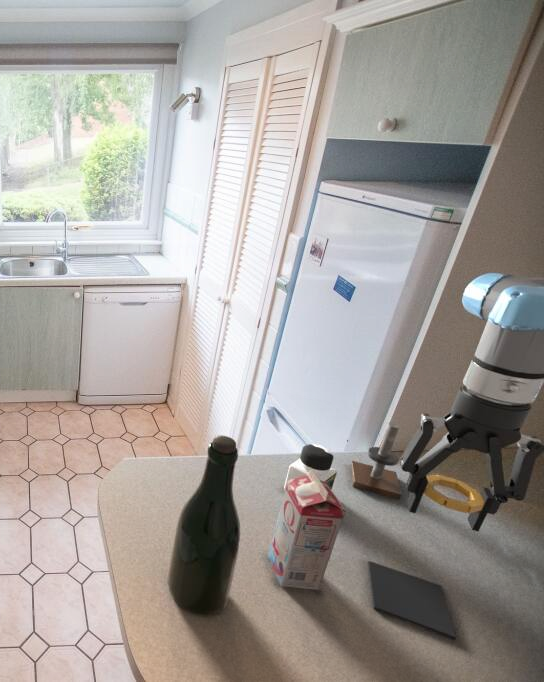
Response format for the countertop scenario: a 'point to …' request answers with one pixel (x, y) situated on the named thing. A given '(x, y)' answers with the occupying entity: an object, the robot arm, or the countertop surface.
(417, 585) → the rubber mat
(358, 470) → the peg stand
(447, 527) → the countertop surface
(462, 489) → the brass ring
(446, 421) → the robot arm
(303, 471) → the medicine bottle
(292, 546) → the juice carton
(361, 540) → the countertop surface
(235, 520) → the green wine bottle
